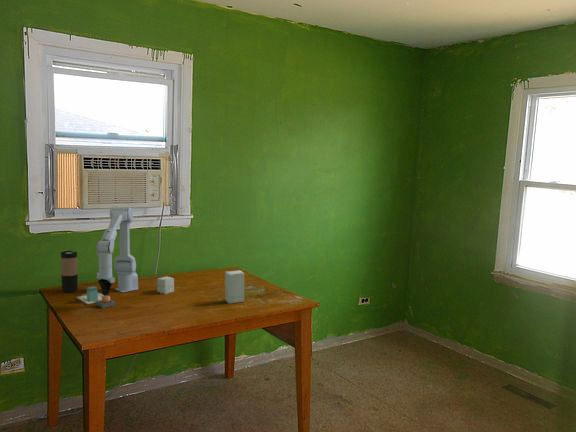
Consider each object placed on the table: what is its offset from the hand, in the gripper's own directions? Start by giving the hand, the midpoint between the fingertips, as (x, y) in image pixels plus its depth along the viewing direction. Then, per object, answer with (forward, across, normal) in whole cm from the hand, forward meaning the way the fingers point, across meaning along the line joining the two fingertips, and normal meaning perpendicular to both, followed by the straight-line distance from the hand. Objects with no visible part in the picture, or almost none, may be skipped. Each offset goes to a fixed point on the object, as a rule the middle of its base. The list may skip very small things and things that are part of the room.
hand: (105, 294), depth 225 cm
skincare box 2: (+5, +32, +50) cm, 60 cm away
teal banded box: (+5, -11, -2) cm, 12 cm away
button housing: (+5, 0, 0) cm, 5 cm away
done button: (+4, 0, 0) cm, 4 cm away
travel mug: (+5, -34, -3) cm, 35 cm away
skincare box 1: (+5, -2, +33) cm, 34 cm away
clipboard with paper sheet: (+5, -14, 0) cm, 14 cm away
